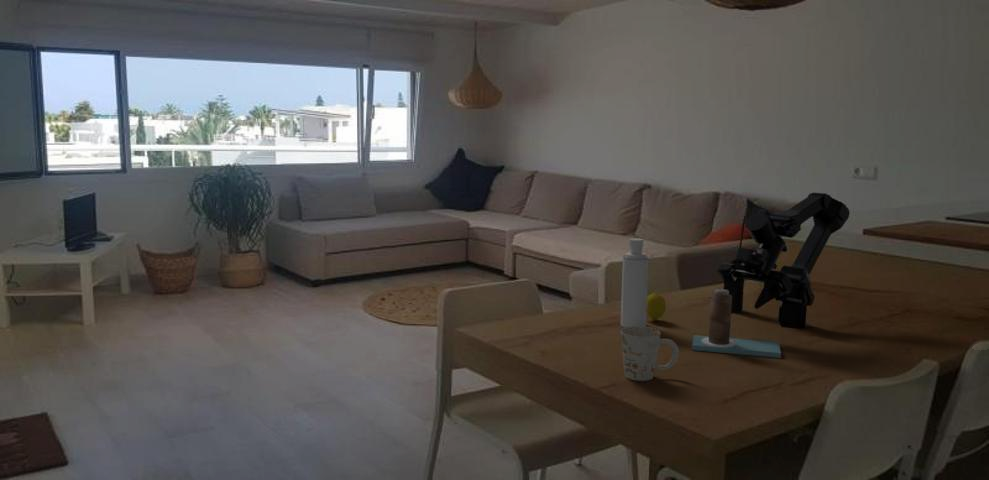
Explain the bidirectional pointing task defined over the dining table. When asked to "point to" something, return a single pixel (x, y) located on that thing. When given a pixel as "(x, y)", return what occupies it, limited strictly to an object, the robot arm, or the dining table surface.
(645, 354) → the mug
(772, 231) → the robot arm
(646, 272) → the white bottle
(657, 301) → the lemon
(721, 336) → the pepper mill
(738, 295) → the butter churn
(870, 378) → the dining table surface
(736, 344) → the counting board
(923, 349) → the dining table surface
